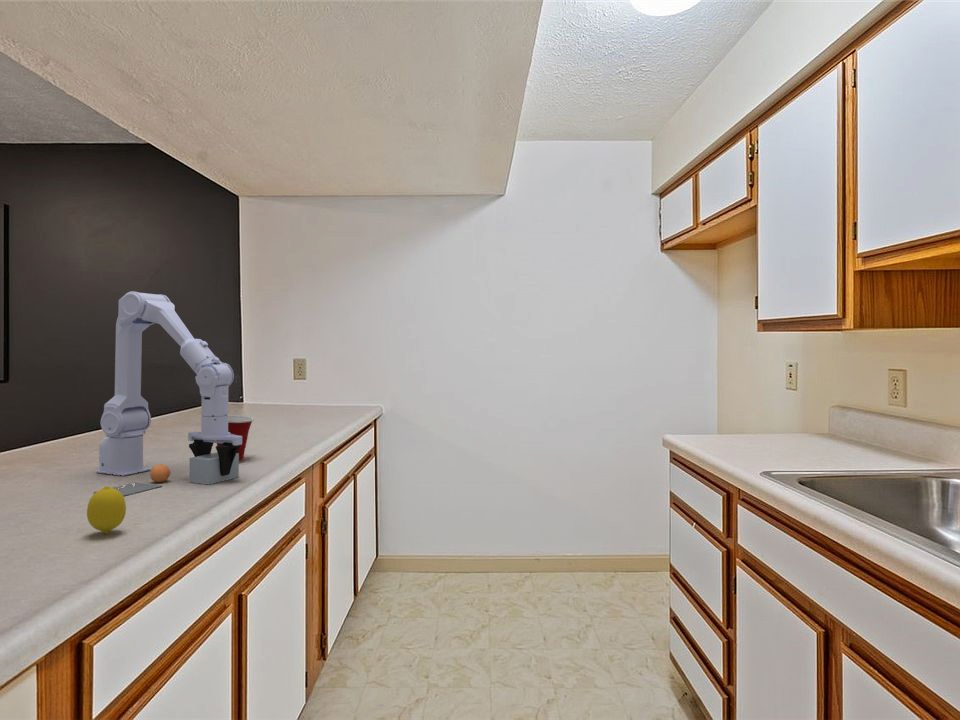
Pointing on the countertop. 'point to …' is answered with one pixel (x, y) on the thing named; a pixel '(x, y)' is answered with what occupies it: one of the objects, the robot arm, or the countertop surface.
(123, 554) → the countertop surface
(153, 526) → the countertop surface
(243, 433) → the plastic cup
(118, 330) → the robot arm
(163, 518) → the countertop surface
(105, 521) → the lemon
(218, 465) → the pale grey rectangular box
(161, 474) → the ball
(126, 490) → the thin grey panel
